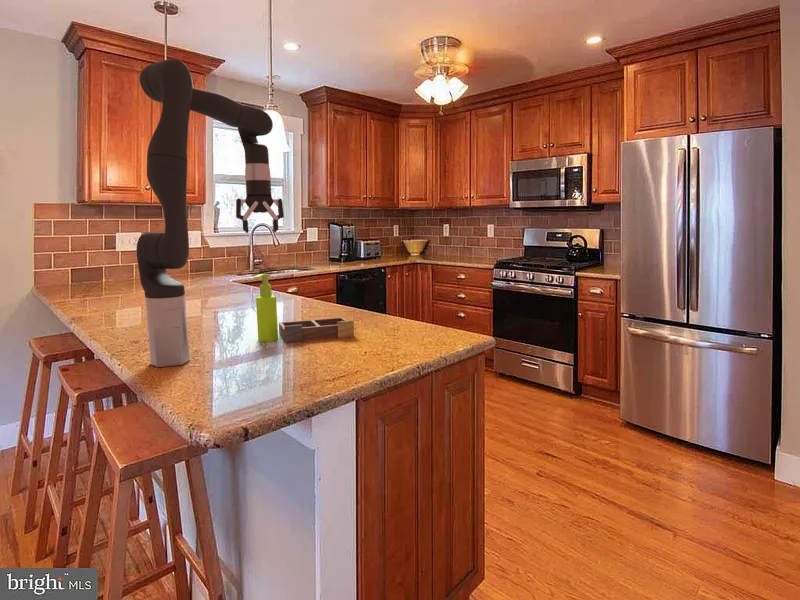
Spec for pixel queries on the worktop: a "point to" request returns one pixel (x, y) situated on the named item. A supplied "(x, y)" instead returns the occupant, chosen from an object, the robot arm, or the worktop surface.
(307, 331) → the dock
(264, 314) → the soap dispenser
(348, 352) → the worktop surface
